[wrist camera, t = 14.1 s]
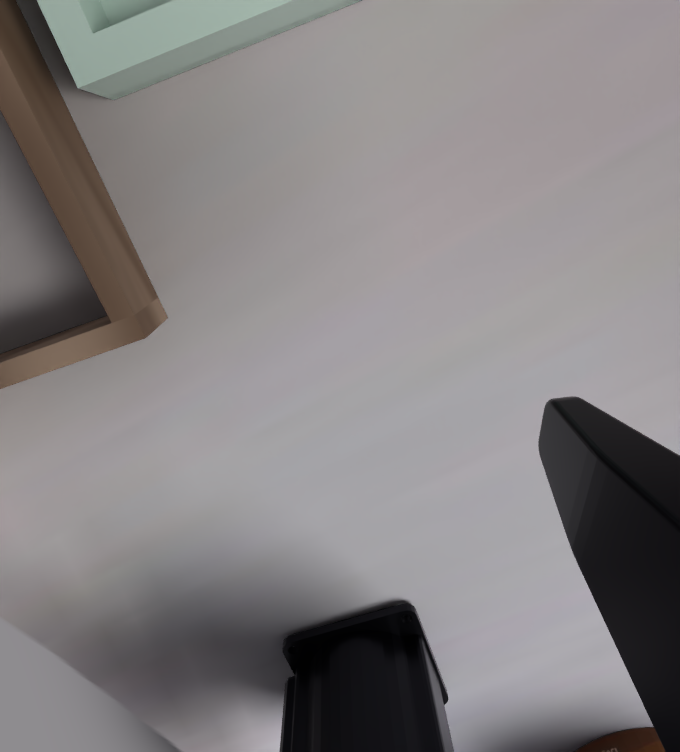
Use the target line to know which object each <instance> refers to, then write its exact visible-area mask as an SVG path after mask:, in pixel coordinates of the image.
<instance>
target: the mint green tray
mask: <svg viewBox="0 0 680 752" xmlns="http://www.w3.org/2000/svg"><path fill="white" fill-rule="evenodd" d="M359 1H362V0H37V2H38V4H39V6H40V8H41V10H42V13H43V15H44V17H45V19H46V21H47V23H48V25H49V28H50V30H51V32H52V34H53V36H54V38H55V40H56V43H57V45H58V47H59V49H60V51H61V53H62V55H63V58H64V60H65V62H66V64H67V66H68V68H69V70H70V73H71V75H72V77H73V79H74V81H75V83H76V85H77V88H79V89H82V90H85V91H88V92H91V93H94V94H97V95H100V96H103V97H106V98H109V99H112V100H116V99H118V98H121V97H123V96H126V95H128V94H131V93H133V92H136V91H138V90H141V89H143V88H146V87H148V86H151V85H153V84H156V83H158V82H161V81H163V80H166V79H168V78H171V77H173V76H176V75H178V74H180V73H183V72H185V71H188V70H190V69H193V68H195V67H198V66H200V65H203V64H205V63H208V62H210V61H213V60H215V59H218V58H220V57H223V56H225V55H228V54H230V53H233V52H235V51H238V50H240V49H243V48H245V47H247V46H250V45H252V44H255V43H257V42H260V41H262V40H265V39H267V38H270V37H272V36H275V35H277V34H280V33H282V32H285V31H287V30H290V29H292V28H295V27H297V26H300V25H302V24H305V23H307V22H310V21H312V20H315V19H317V18H319V17H322V16H324V15H327V14H329V13H332V12H334V11H337V10H339V9H342V8H344V7H347V6H349V5H352V4H354V3H357V2H359Z"/></svg>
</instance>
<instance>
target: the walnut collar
mask: <svg viewBox="0 0 680 752" xmlns="http://www.w3.org/2000/svg"><path fill="white" fill-rule="evenodd" d="M0 110H1V112H2V114H3V116H4V118H5V120H6V122H7V123H8V125H9V127H10V129H11V131H12V133H13V135H14V137H15V139H16V141H17V143H18V145H19V146H20V148H21V150H22V152H23V154H24V156H25V158H26V160H27V162H28V164H29V166H30V168H31V169H32V171H33V173H34V175H35V177H36V179H37V181H38V183H39V185H40V187H41V189H42V191H43V192H44V194H45V196H46V198H47V200H48V202H49V204H50V206H51V208H52V210H53V212H54V214H55V215H56V217H57V219H58V221H59V223H60V225H61V227H62V229H63V231H64V233H65V235H66V237H67V238H68V240H69V242H70V244H71V246H72V248H73V250H74V252H75V254H76V256H77V258H78V260H79V261H80V263H81V265H82V267H83V269H84V271H85V273H86V275H87V277H88V279H89V281H90V283H91V284H92V286H93V288H94V290H95V292H96V294H97V296H98V298H99V300H100V302H101V304H102V306H103V307H104V309H105V311H106V313H107V315H108V316H105V317H102V318H99V319H97V320H94V321H91V322H88V323H85V324H83V325H80V326H77V327H74V328H72V329H69V330H66V331H63V332H60V333H58V334H55V335H52V336H49V337H46V338H44V339H41V340H38V341H35V342H32V343H30V344H27V345H24V346H21V347H19V348H16V349H13V350H10V351H7V352H5V353H2V354H0V389H2V388H4V387H7V386H10V385H13V384H16V383H19V382H21V381H24V380H27V379H30V378H33V377H36V376H39V375H41V374H44V373H47V372H50V371H53V370H56V369H59V368H61V367H64V366H67V365H70V364H73V363H76V362H79V361H81V360H84V359H87V358H90V357H93V356H96V355H98V354H101V353H104V352H107V351H110V350H113V349H116V348H118V347H121V346H124V345H127V344H130V343H133V342H136V341H138V340H141V339H144V338H146V337H147V336H148V335H150V334H151V333H152V332H153V331H154V330H155V329H156V328H157V327H158V326H159V325H161V324H162V323H163V322H164V321H165V320H166V319H167V318H168V317H167V315H166V313H165V311H164V309H163V307H162V304H161V302H160V300H159V298H158V296H157V294H156V292H155V290H154V288H153V286H152V284H151V282H150V279H149V277H148V275H147V273H146V271H145V269H144V267H143V265H142V263H141V261H140V259H139V256H138V254H137V252H136V250H135V248H134V246H133V244H132V242H131V240H130V238H129V236H128V234H127V231H126V229H125V227H124V225H123V223H122V221H121V219H120V217H119V215H118V213H117V211H116V208H115V206H114V204H113V202H112V200H111V198H110V196H109V194H108V192H107V190H106V188H105V186H104V183H103V181H102V179H101V177H100V175H99V173H98V171H97V169H96V167H95V165H94V163H93V161H92V158H91V156H90V154H89V152H88V150H87V148H86V146H85V144H84V142H83V140H82V138H81V135H80V133H79V131H78V129H77V127H76V125H75V123H74V121H73V119H72V117H71V115H70V113H69V110H68V108H67V106H66V104H65V102H64V100H63V98H62V96H61V94H60V92H59V90H58V87H57V85H56V83H55V81H54V79H53V77H52V75H51V73H50V71H49V69H48V67H47V65H46V62H45V60H44V58H43V56H42V54H41V52H40V50H39V48H38V46H37V44H36V42H35V40H34V37H33V35H32V33H31V31H30V29H29V27H28V25H27V23H26V21H25V19H24V17H23V14H22V12H21V10H20V8H19V6H18V4H17V2H16V0H0Z"/></svg>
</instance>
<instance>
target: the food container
mask: <svg viewBox="0 0 680 752" xmlns="http://www.w3.org/2000/svg"><path fill="white" fill-rule="evenodd" d="M575 752H665V750H664V747H663V745H662V743H661V741H660V739H659V737H658V735H657V732H656V730H655V728H654V727H645V728H634V729H629V730H624V731H619V732H615V733H612V734H609V735H606V736H603V737H601V738H598V739H596V740H594V741H591V742H590V743H588V744H586V745H584V746H582V747H581V748H579V749H578V750H576V751H575Z"/></svg>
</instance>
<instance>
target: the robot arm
mask: <svg viewBox="0 0 680 752" xmlns="http://www.w3.org/2000/svg"><path fill="white" fill-rule="evenodd" d="M539 453H540V457H541V460H542V463H543V466H544V469H545V472H546V475H547V478H548V481H549V484H550V487H551V490H552V493H553V496H554V499H555V502H556V505H557V508H558V511H559V514H560V517H561V520H562V523H563V526H564V529H565V532H566V535H567V538H568V541H569V543H570V546H571V549H572V551H573V554H574V556H575V558H576V561H577V563H578V565H579V567H580V570H581V572H582V574H583V576H584V578H585V580H586V582H587V585H588V587H589V589H590V591H591V593H592V595H593V597H594V600H595V602H596V604H597V606H598V608H599V610H600V612H601V615H602V617H603V619H604V621H605V623H606V625H607V627H608V630H609V632H610V634H611V636H612V638H613V640H614V642H615V645H616V647H617V649H618V651H619V653H620V655H621V657H622V660H623V662H624V664H625V666H626V668H627V670H628V672H629V675H630V677H631V679H632V681H633V683H634V685H635V687H636V690H637V692H638V694H639V696H640V698H641V700H642V702H643V705H644V707H645V709H646V711H647V713H648V715H649V717H650V720H651V722H652V724H653V726H654V728H655V730H656V732H657V735H658V737H659V739H660V741H661V743H662V745H663V747H664V750H665V752H680V455H678V454H676V453H674V452H673V451H671V450H669V449H667V448H666V447H664V446H662V445H661V444H659V443H657V442H655V441H654V440H652V439H650V438H648V437H647V436H645V435H643V434H642V433H640V432H638V431H636V430H635V429H633V428H631V427H630V426H628V425H626V424H624V423H623V422H621V421H619V420H617V419H616V418H614V417H612V416H611V415H609V414H607V413H605V412H604V411H602V410H600V409H598V408H597V407H595V406H593V405H592V404H590V403H588V402H586V401H585V400H583V399H581V398H579V397H563V398H554V399H551V400H549V401H548V402H547V403H546V405H545V408H544V414H543V419H542V425H541V430H540V436H539ZM403 615H408V616H403ZM291 646H295V647H291ZM283 653H284V655H285V657H286V659H287V661H288V663H289V665H290V667H291V669H292V671H293V673H294V675H295V676H292V677H289V678H288V679H287V681H286V683H285V695H284V706H283V718H282V730H281V742H280V752H454V749H453V744H452V740H451V735H450V730H449V726H448V721H447V717H446V712H445V707H444V705H445V704H446V703H447V701H448V694H447V690H446V687H445V685H444V682H443V679H442V677H441V674H440V671H439V669H438V666H437V664H436V661H435V658H434V656H433V653H432V650H431V648H430V645H429V643H428V640H427V637H426V635H425V632H424V629H423V627H422V624H421V622H420V619H419V616H418V614H417V611H416V609H415V607H414V606H412V605H411V604H401V605H397V606H394V607H390V608H387V609H383V610H380V611H376V612H372V613H369V614H365V615H362V616H358V617H355V618H351V619H347V620H344V621H340V622H337V623H333V624H330V625H326V626H322V627H319V628H315V629H312V630H308V631H305V632H301V633H298V634H294V635H290V636H288V637H286V638H285V639H284V642H283Z"/></svg>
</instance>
